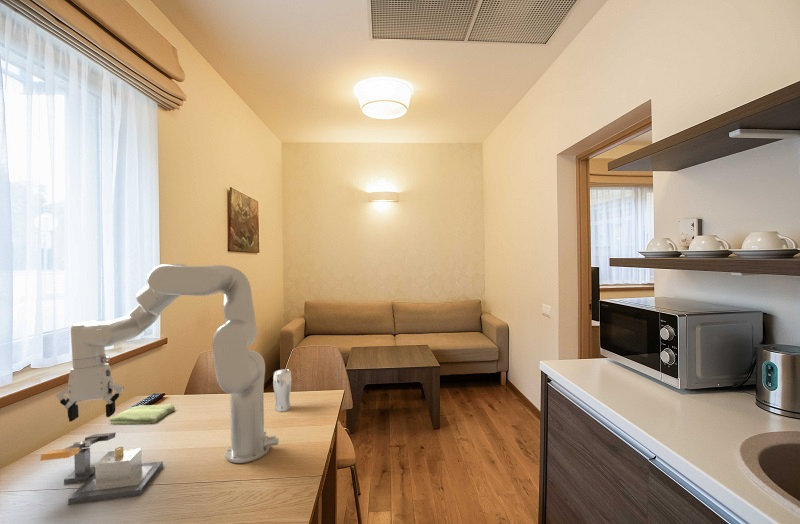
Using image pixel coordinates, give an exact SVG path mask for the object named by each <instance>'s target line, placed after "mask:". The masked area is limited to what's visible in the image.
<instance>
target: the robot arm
mask: <svg viewBox="0 0 800 524" xmlns="http://www.w3.org/2000/svg"><path fill="white" fill-rule="evenodd" d="M146 283H147V285H145V286H144V287H143V288H142V289H141V290H139V291H138V292H137V294H136V297H135V299H136V301H137V303H138V305H137V306H136V307H135V308H134V309H132V310H131V311H130V312H128V314H126V315H124V316H123V317H119V318H114V319H110V320H106V321H100V320H88V321H87V320H86V321H81V322H76V323H74V324H72V325H71V327H70V339H71V342H70V345H71V359H72V361H71V362H72V368H70V371H69V375H68V383H67V388H65V389H64V390H62V391H60V392H58V393H57V394H56V395H55V396H56V398H57V400H58V401H59V403H60V405H62V406H64V408H65V409H67V418H68V422H73V421H75V420H76V419H78V418H79V414H80V413H79V405H78V404H77V403H78V402H85V401H94V400H101V399H102V400H103V401H105V402H106V404H105V417H106V418H111V417H112V416H113V415H114V414H115V412H116V401H117V399H119V397H120V396H121V395H122V393H123V391H124V389H125V386H123V385H120V384H118V383H115V382H114V378H113V373H112V370H111V366H110V364H109V363H107V362H110V360H111V357H110V356H106V352H105V348H107V347H111V346H115V345H118V344H120V343H123V342H127V341H130V340H132V339H135V338H136V337H138V336H139V335H140V334H142V333H143V332H145V331H146V330H148V328H149V327H150V326H152V325H153V324H154V323H155V322H156V321H157V319H158V318H159V317H160V315H161V314H162V312H163V311H164V310H165V309H166V308H167V307H168V306H170V305H171V304H172V303H173V302H174V301H175V300H177V299H178V298H179V297H181V296H194V297H195V296H196V297H197V296H198V297H199V296H200V297H201V296H203V297H205V296H210V295H214V294H215V295H216V294H219V293H222V294H223V304H222V307H223V308H222V309H223V313H224V324H222V325H220V326H219V327H218V328H217V329H216V330H215V332H214V333H213V337H212V344H211V345H212V346H211V347H212V354H213V363H214V368H215V369H214V370H215V375H216V380H217V384H218V385H219V387H220V389H222V391H223V392H225V393H227V394H230V446H229V447H228V449H227V450H226V451H225V459H226V460H227V461H228V462H231V463H236V464H243V463H249V462H253V461H256V460H258V459H261V457H263V456H265V455H266V454H267V453H268V452H269V451H270V446H278V445H279V442H280V440H279V438H276V437H277V435H271V436H269V435H267V431H265V421H264V420H265V417H264V416H265V415H264V412H265V411H264V406H265V405H264V403H265V402H264V395H265V393H264V386H265V376H266V375H265V374H266V362H265V359H264V357H263V356H262V354H261V353H259V352H258V351H255V350H248V349H249V347H250V346H251V345H253V343H255V341H256V340H257V337H258V327H257V322H256V321H257V320H256V315H255V309H254V300H253V295H252V289H251V288H252V287H251V284H250V281H249V279H248V278H247V276H246V275H245V274H244V273H243V272H242V271H241V270H239V269H237V268H236V267H232V266H229V265H225V264H224V265H221V264H219V265H205V266H204V265H203V266H201V265H197V266H196V265H195V266H194V265H186V264H184V263H165V264H160V265H157V266H155V267H154V268H152V270H151V271H149V273H148V275H147V281H146ZM114 391H115V394H114ZM67 394H68V397H67Z"/></svg>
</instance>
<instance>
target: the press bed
mask: <svg viewBox="0 0 800 524" xmlns="http://www.w3.org/2000/svg"><path fill="white" fill-rule="evenodd" d="M73 456H74V457H73V458H74V470H73V471H72V472H70V473H69V474H68V475H67V476H65V478H64V479H63V485H65V484H71V483H72V484H73V483H81V482H84V483H83V484H82V485H80V487H79V488H77V490H76V491H74V492H73V494H71V495H70V497H68V498H67V504H68V505H76V504H83V503H84V504H85V503H86V504H87V503H93V502H99V501H109V500H115V499H116V500H117V499H122V498H131V497H137V496H138V497H139V496H141V495H142V494H143V493H144V492H145V490H146V489H147V488H148V486H149V485H150V484H151V483H152V481H154V479H155V477H157V475H158V473H159V472H160V471H161V470H160V469H163V467H164V461H162V460H161V461H156V462H155V461H154V462H147V463H144V462H142V470H141V471H140V472H139V473H138V474H137V476H136V477H135V478H134V479H133V480H132V481H131V482H130V483H122V484H114V485H106V486H98V487H96V476H95V466H91V448H90V447H88V448H82V449H79V453H78V454H76V455H73Z"/></svg>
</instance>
